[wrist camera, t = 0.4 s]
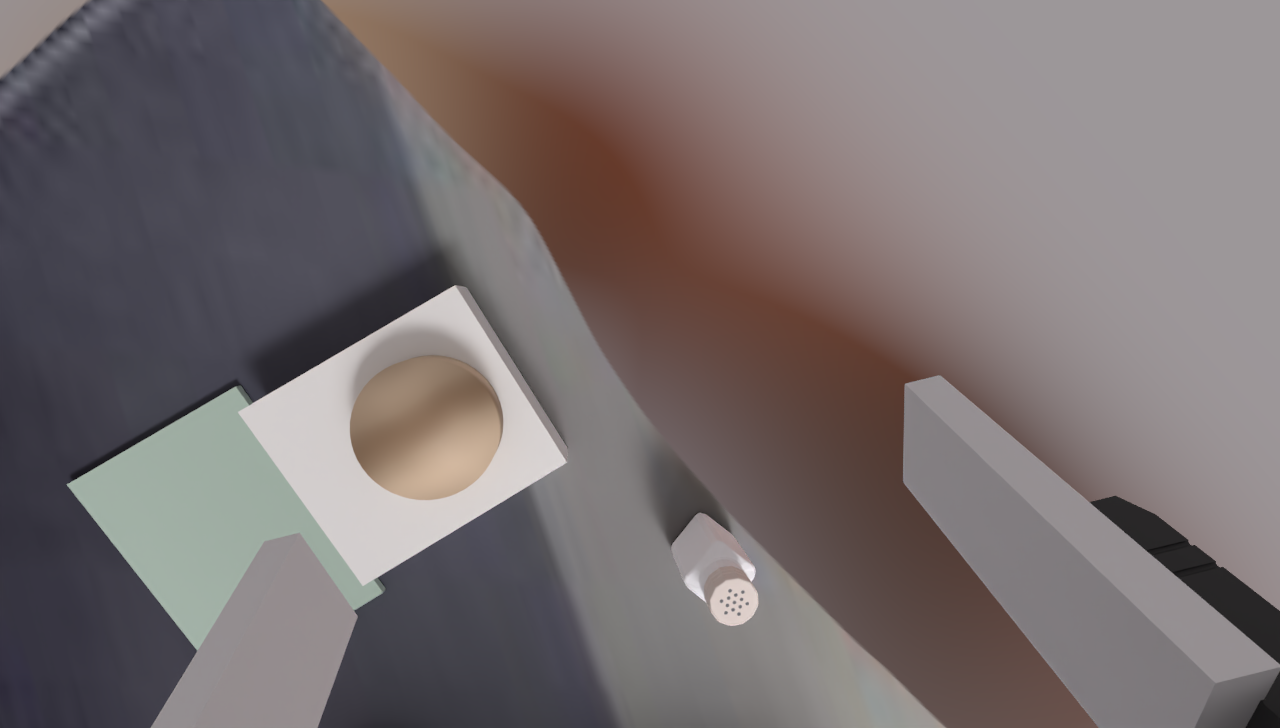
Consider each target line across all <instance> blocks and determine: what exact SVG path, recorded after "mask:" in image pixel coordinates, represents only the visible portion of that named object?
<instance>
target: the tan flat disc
mask: <svg viewBox="0 0 1280 728" xmlns="http://www.w3.org/2000/svg"><path fill="white" fill-rule="evenodd" d="M502 432H503V412H502V408H501V404H500V401H499V398H498V396H497V394H496V392H495V390H494V388H493V387H492V385H491V384H490V383H489V381H488V380H487V379H486V378H485V377H484V376H483V375H482V374H481V373H480V372H478V371H477V370H476V369H475V368H473V367H472V366H470V365H468V364H467V363H464V362H462V361H460V360H457V359H454V358H451V357H446V356H438V355H428V356H420V357H415V358H411V359H408V360H405V361H402V362H399V363H396V364H393V365H391V366H389V367H387V368H385V369H384V370H382V371H381V372H379V373H378V374H376V375H375V376H374V377H373V378H372V379H371V380H370V381H369V382H368V383H367V384H366V385H365V386H364V388H363V389H362V391H361V392H360V394H359V395H358V397H357V399H356V401H355V404H354V406H353V410H352V413H351V419H350V438H351V444H352V447H353V451H354V453H355V456H356V458H357V460H358V462H359V464H360V465H361V467H362V468H363V470H364V471H365V472H366V473H367V475H368V476H369V477H370V478H371V479H372V480H373V481H374V482H376V483H377V484H378V485H380V486H381V487H382V488H384V489H386V490H388V491H389V492H391V493H394V494H396V495H399V496H402V497H405V498H409V499H416V500H434V499H441V498H445V497H449V496H451V495H454V494H457V493H459V492H460V491H462V490H464V489H466V488H467V487H469V486H470V485H472V484H473V483H474V482H475V481H476V480H477V479H479V478H480V476H481V475H482V474H483V473H484V472H485V471H486V469H487V467H488V466H489V464H490V463H491V461H492V459H493V457H494V455H495V453H496V451H497V449H498V447H499V444H500V441H501V438H502Z"/></svg>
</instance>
